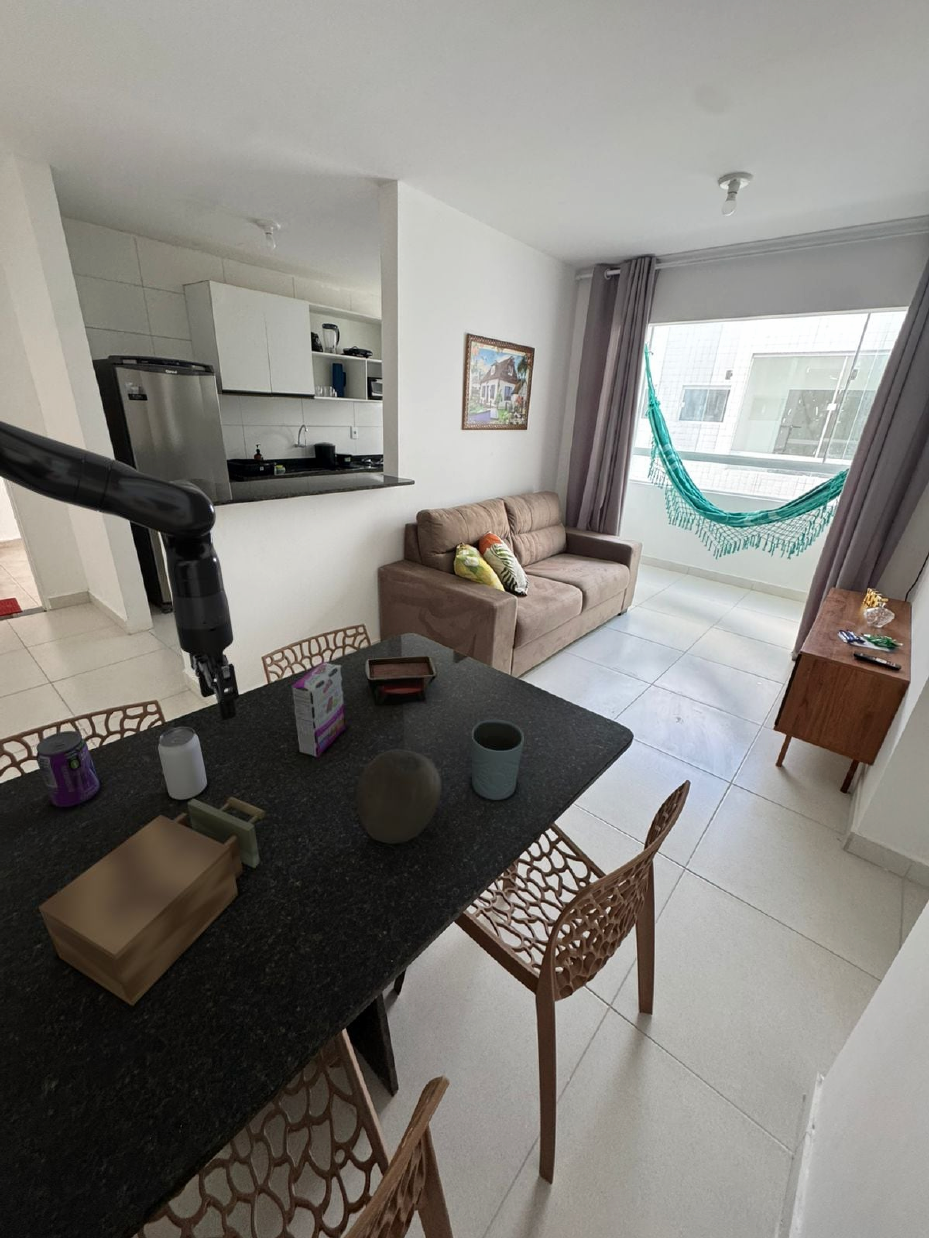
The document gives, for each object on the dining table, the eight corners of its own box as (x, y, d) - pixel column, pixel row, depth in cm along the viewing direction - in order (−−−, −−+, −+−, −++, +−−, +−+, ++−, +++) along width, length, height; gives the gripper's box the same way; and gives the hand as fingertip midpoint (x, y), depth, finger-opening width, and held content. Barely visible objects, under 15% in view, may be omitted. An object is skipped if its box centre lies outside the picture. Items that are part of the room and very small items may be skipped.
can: (209, 773, 100) (199, 722, 95) (205, 797, 94) (194, 744, 89) (172, 779, 98) (160, 728, 93) (165, 804, 92) (152, 750, 87)
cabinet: (172, 860, 81) (160, 814, 77) (238, 894, 77) (229, 847, 73) (59, 957, 67) (38, 906, 63) (132, 1006, 62) (114, 954, 58)
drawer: (224, 814, 89) (217, 779, 86) (281, 840, 85) (277, 803, 82) (108, 913, 72) (95, 873, 69) (173, 951, 68) (162, 911, 64)
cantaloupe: (418, 873, 82) (420, 801, 76) (341, 845, 86) (337, 775, 80) (450, 812, 94) (454, 746, 88) (382, 790, 98) (381, 726, 92)
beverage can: (101, 800, 92) (84, 746, 87) (51, 815, 88) (31, 760, 83) (99, 776, 97) (83, 724, 92) (53, 790, 94) (34, 737, 89)
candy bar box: (326, 723, 116) (322, 660, 110) (346, 728, 115) (342, 664, 108) (297, 752, 107) (290, 685, 100) (317, 758, 105) (312, 690, 99)
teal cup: (496, 810, 95) (502, 759, 90) (456, 783, 101) (459, 733, 96) (528, 783, 102) (535, 734, 97) (489, 760, 108) (493, 712, 103)
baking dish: (371, 682, 137) (364, 651, 132) (437, 673, 138) (433, 642, 133) (369, 717, 125) (361, 684, 120) (441, 706, 126) (436, 673, 121)
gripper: (161, 608, 80) (180, 695, 87) (192, 640, 71) (210, 735, 78) (211, 597, 85) (225, 681, 92) (246, 626, 76) (259, 717, 82)
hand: (218, 706), depth 85 cm, fingers open, 8 cm apart
